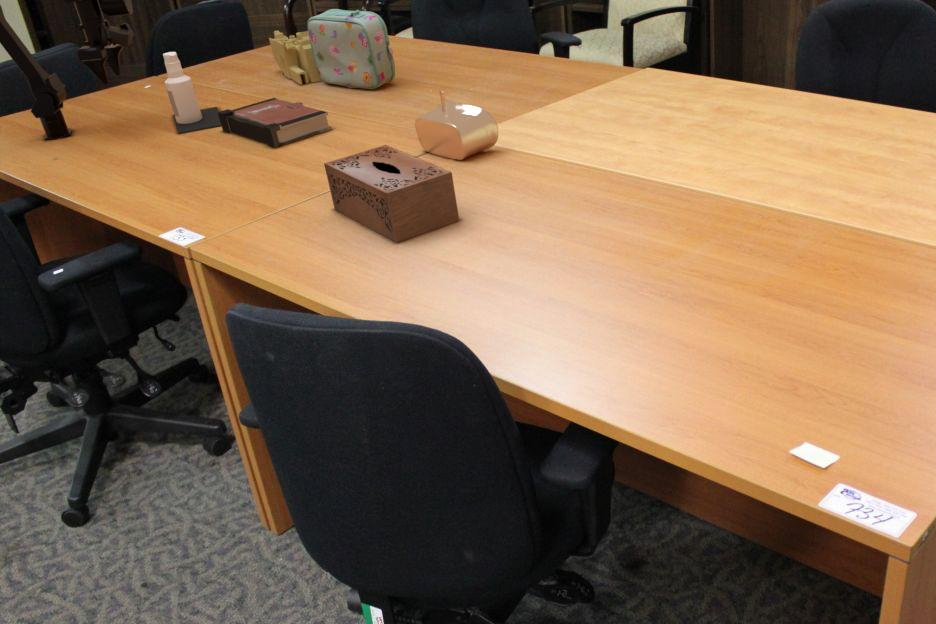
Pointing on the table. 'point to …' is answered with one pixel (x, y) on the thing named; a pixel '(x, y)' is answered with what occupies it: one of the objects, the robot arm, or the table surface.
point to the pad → (201, 121)
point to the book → (274, 122)
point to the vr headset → (456, 130)
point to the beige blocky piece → (295, 57)
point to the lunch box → (351, 48)
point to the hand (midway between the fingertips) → (112, 79)
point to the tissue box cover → (392, 192)
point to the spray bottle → (181, 91)
